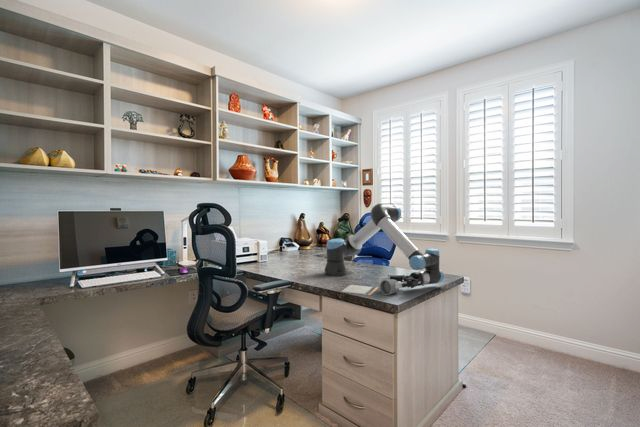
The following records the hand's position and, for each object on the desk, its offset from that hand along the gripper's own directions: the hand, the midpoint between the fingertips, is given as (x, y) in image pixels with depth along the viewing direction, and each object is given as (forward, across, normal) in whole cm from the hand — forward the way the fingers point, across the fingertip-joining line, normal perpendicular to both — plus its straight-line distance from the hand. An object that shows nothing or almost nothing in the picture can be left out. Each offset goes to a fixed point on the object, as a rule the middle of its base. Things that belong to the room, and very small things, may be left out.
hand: (387, 282), depth 171 cm
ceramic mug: (-1, +2, -6) cm, 7 cm away
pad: (+10, +14, -6) cm, 18 cm away
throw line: (+4, +8, -6) cm, 10 cm away
